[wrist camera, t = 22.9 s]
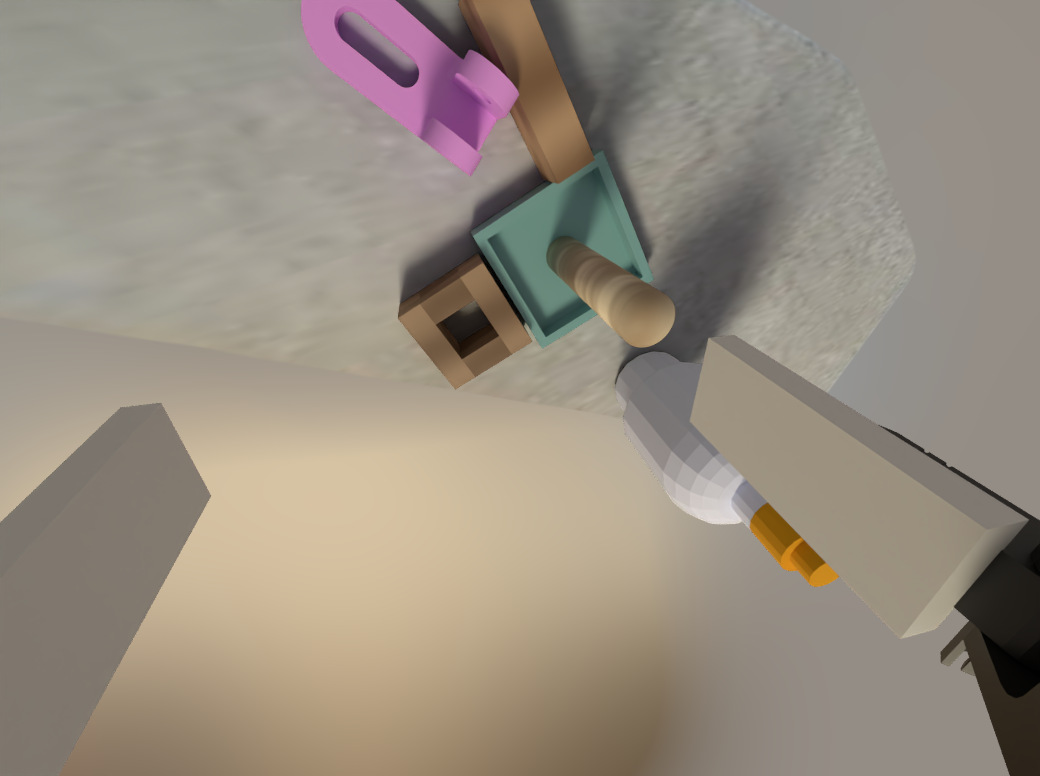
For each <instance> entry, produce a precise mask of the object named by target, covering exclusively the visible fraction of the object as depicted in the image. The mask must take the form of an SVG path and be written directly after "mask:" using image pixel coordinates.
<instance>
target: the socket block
mask: <svg viewBox="0 0 1040 776" xmlns="http://www.w3.org/2000/svg"><path fill="white" fill-rule="evenodd" d="M474 300H476V302H477V303H478V305H479V306H480V308H481V309H482V311H483V312H484V314H485V315H486V317H487V318H488V320H489V321H490V324H488V325H487V326H485V327H484V328H482V329H481V330H479V331H477V332H476V333H474V334H473V335H471V336H470V337H468V338H466V339H465V340H463V341H462V342H460V343H458V342H457V340H456V339H455V337H454V336H453V335H452V333H451V332H450V331H449V329H448V328H447V327H446V325H445V324H444V323H443V321H442V320H444V319H446V318H447V317H449V316H450V315H452V314H453V313H455V312H456V311H458V310H460V309H461V308H463V307H464V306H466V305H467V304H469V303H470V302H472V301H474ZM398 319H399V320H400V322H401V323H402V324H403V325H404V327H405V328H406V329H407V330H408V332H409V333H410V334H411V335H412V337H413V338H414V339H415V340H416V341H417V343H418V344H419V345H420V346H421V348H422V349H423V350H424V351H425V353H426V354H427V355H428V356H429V358H430V359H431V360H432V361H433V362H434V364H435V365H436V366H437V367H438V369H439V370H440V371H441V372H442V374H443V375H444V376H445V377H446V379H447V380H448V381H449V382H450V383H451V385H452V386H453V387H454V388H455V389H457V388H459V387H460V386H462V385H463V384H465V383H467V382H468V381H470V380H471V379H473V378H475V377H476V376H478V375H479V374H481V373H483V372H484V371H486V370H488V369H489V368H491V367H492V366H494V365H496V364H497V363H499V362H500V361H502V360H504V359H505V358H507V357H508V356H510V355H512V354H513V353H515V352H516V351H518V350H520V349H521V348H523V347H524V346H526V345H528V344H529V343H531V342H532V340H531V338H530V337H529V335H528V333H527V331H526V329H525V328H524V326H523V324H522V323H521V321H520V320H519V318H518V316H517V315H516V313H515V312H514V310H513V308H512V307H511V305H510V304H509V302H508V300H507V299H506V297H505V296H504V294H503V292H502V291H501V289H500V288H499V286H498V284H497V283H496V281H495V280H494V278H493V276H492V275H491V273H490V272H489V270H488V268H487V267H486V265H485V264H484V262H483V260H482V259H481V257H480V256H479V254H478V253H477V254H475V255H474V256H472V257H471V258H469V259H468V260H466V261H465V262H463V263H462V264H460V265H459V266H457V267H456V268H454V269H453V270H451V271H450V272H448V273H447V274H445V275H443V276H442V277H440V278H439V279H437V280H436V281H434V282H433V283H431V284H430V285H428V286H427V287H425V288H424V289H422V290H421V291H419V292H418V293H416V294H415V295H413V296H411V297H410V298H408V299H407V300H405V301H404V302H402V303H401V304H400V306H399V313H398Z"/></svg>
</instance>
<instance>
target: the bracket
mask: <svg viewBox="0 0 1040 776" xmlns="http://www.w3.org/2000/svg"><path fill="white" fill-rule="evenodd" d="M345 12H354V13H357V14H358V15H360V16H361V17H362V18H363V19H364V20H366V21H367V22H368V23H369V24H370V25H372V26H373V27H374V28H375V29H376V30H377V31H379V32H380V33H381V34H382V35H383V36H385V37H386V38H387V39H388V40H389V41H390V42H392V43H393V44H394V45H395V46H396V47H398V48H399V49H400V50H401V51H402V52H404V53H405V54H406V55H407V56H408V57H409V58H411V59H412V60H413V61H414V62H415V63H416V65H417V67H418V70H419V78H418V81H417V82H416V84H415V85H414V86H412V87H409V88H405V87H401V86H400V85H398V84H397V83H396V82H394V81H393V80H392V79H391V78H389V77H388V76H387V75H386V74H384V73H383V72H382V71H381V70H379V69H378V68H377V67H376V66H374V65H373V64H372V63H371V62H369V61H368V60H367V59H366V58H364V57H363V56H362V55H361V54H359V53H358V52H357V51H356V50H354V49H353V48H352V47H351V46H349V45H348V44H347V43H346V42H344V41H343V40H342V39H341V37H340V35H339V32H338V21H339V18H340V16H341V15H342V14H343V13H345ZM301 16H302V23H303V28H304V31H305V35H306V37H307V40H308V42H309V44H310V46H311V48H312V49H313V51H314V53H315V54H316V55H317V57H318V58H319V59H320V60H321V62H322V63H323V64H324V65H325V66H326V67H328V68H329V69H330V70H331V71H333V72H334V73H335V74H336V75H338V76H339V77H340V78H342V79H343V80H344V81H346V82H347V83H348V84H349V85H351V86H352V87H353V88H355V89H356V90H357V91H359V92H360V93H361V94H363V95H364V96H365V97H367V98H368V99H369V100H370V101H372V102H373V103H374V104H376V105H377V106H378V107H380V108H381V109H382V110H384V111H385V112H386V113H388V114H389V115H390V116H391V117H393V118H394V119H395V120H397V121H398V122H399V123H401V124H402V125H403V126H405V127H406V128H407V129H409V130H410V131H411V132H412V133H414V134H415V135H416V136H418V137H419V138H420V139H422V140H423V141H424V142H426V143H427V144H428V145H430V146H431V147H432V148H433V149H435V150H436V151H437V152H439V153H440V154H441V155H443V156H444V157H445V158H447V159H448V160H449V161H451V162H452V163H453V164H454V165H456V166H457V167H458V168H460V169H461V170H462V171H464V172H465V173H467V174H468V175H469V176H471V175H472V173H473V172H474V170H475V168H476V167H477V165H478V163H479V162H480V160H481V158H482V156H481V155H480V154H479V153H478V151H479V150H480V148H481V146H482V145H483V143H484V141H485V140H486V138H487V136H488V134H489V133H490V131H491V129H492V128H493V126H494V124H495V123H496V121H497V120H498V119H501V118H504V117H506V116H507V115H508V113H509V111H510V110H511V108H512V106H513V105H514V103H515V101H516V100H517V98H518V96H519V92H518V90H517V89H516V87H515V86H514V85H513V83H512V82H511V81H510V80H509V79H508V78H507V77H506V76H505V75H504V74H503V73H502V72H501V71H500V70H499V69H498V68H497V67H496V66H495V65H493V64H492V63H491V62H490V61H488V60H487V59H486V58H484V57H483V56H482V55H480V54H479V53H477V52H475V51H473V50H469V51H468V53H467V54H466V56H465V58H464V59H462V58H460V57H459V56H458V55H456V54H455V53H454V52H453V51H452V50H451V49H450V48H449V47H447V46H446V45H445V44H444V43H443V42H442V41H441V40H440V39H438V38H437V37H436V36H435V35H434V34H433V33H432V32H431V31H429V30H428V29H427V28H426V27H425V26H424V25H423V24H422V23H421V22H419V21H418V20H417V19H416V18H415V17H414V16H413V15H412V14H410V13H409V12H408V11H407V10H406V9H405V8H404V7H403V6H401V5H400V4H399V3H398V2H397V1H396V0H302V4H301Z"/></svg>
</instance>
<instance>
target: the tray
mask: <svg viewBox="0 0 1040 776" xmlns="http://www.w3.org/2000/svg"><path fill="white" fill-rule="evenodd" d="M592 154H593V156H594V159H595V160H594V161H593V162H591V163H590V164H588V165H587V166H585V167H584V168H582V169H581V170H579V171H577V172H576V173H574V174H573V175H571V176H570V177H568V178H567V179H565V180H564V181H562V182H561V183H559V184H556V183H553V182H550V181H545V182H543V183H542V184H540V185H539V186H537V187H536V188H534V189H533V190H531V191H530V192H528V193H527V194H525V195H524V196H522V197H521V198H519V199H518V200H516V201H515V202H513V203H512V204H510V205H509V206H507V207H506V208H504V209H503V210H501V211H500V212H498V213H497V214H495V215H494V216H492V217H491V218H489V219H488V220H486V221H485V222H483V223H482V224H480V225H479V226H477V227H476V228H474V229H473V230H471V231H470V232H471V234H472V236H473V237H474V239H475V241H476V242H477V244H478V245H479V247H480V249H481V250H482V252H483V254H484V255H485V257H486V258H487V260H488V262H489V263H490V265H491V266H492V268H493V270H494V271H495V273H496V275H497V276H498V278H499V279H500V281H501V283H502V284H503V286H504V287H505V289H506V291H507V292H508V294H509V296H510V297H511V299H512V300H513V302H514V304H515V305H516V307H517V309H518V310H519V312H520V313H521V315H522V317H523V318H524V320H525V321H526V323H527V325H528V326H529V328H530V330H531V331H532V333H533V334H534V336H535V338H536V339H537V341H538V342H539V344H540V346H541V347H542V349H543V348H544V347H546V346H547V345H549V344H551V343H552V342H554V341H555V340H557V339H559V338H560V337H562V336H564V335H565V334H567V333H568V332H570V331H572V330H573V329H575V328H577V327H578V326H580V325H581V324H583V323H585V322H586V321H588V320H589V319H591V318H593V317H594V316H596V315H598V314H597V313H596V312H595V311H594V310H593V309H592V308H591V307H590V306H589V305H588V304H586V303H585V302H584V301H583V300H582V299H581V298H580V297H579V296H578V295H577V294H576V293H575V292H574V291H573V290H572V289H571V288H570V287H569V286H568V285H567V284H566V283H565V282H564V281H563V280H562V279H561V278H559V277H558V276H557V275H556V274H555V273H554V272H553V271H552V270H551V269H550V268H549V266H548V264H547V261H546V253H547V249H548V247H549V245H550V244H551V243H552V242H553V241H554V240H555V239H557V238H559V237H562V236H570V237H572V238H574V239H576V240H578V241H579V242H581V243H582V244H584V245H586V246H587V247H589V248H591V249H592V250H594V251H595V252H597V253H599V254H600V255H602V256H604V257H605V258H607V259H608V260H610V261H612V262H613V263H615V264H617V265H618V266H620V267H621V268H623V269H625V270H626V271H628V272H630V273H631V274H633V275H634V276H636V277H638V278H639V279H641V280H643V281H644V282H646V283H647V284H648V283H649V282H651V281H652V280H654V278H653V275H652V273H651V270H650V268H649V265H648V263H647V260H646V258H645V255H644V253H643V250H642V248H641V245H640V243H639V240H638V238H637V235H636V232H635V230H634V227H633V225H632V222H631V220H630V217H629V215H628V212H627V210H626V207H625V205H624V202H623V200H622V197H621V195H620V192H619V190H618V187H617V184H616V182H615V179H614V177H613V174H612V172H611V169H610V167H609V164H608V162H607V159H606V157H605V154H604V152H603V150H592Z"/></svg>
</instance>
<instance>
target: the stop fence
mask: <svg viewBox="0 0 1040 776" xmlns="http://www.w3.org/2000/svg"><path fill="white" fill-rule="evenodd" d="M458 6H459V8H460V10H461V12H462V14H463V16H464V18H465V20H466V22H467V24H468V26H469V28H470V30H471V32H472V34H473V36H474V38H475V41H476V43H477V45H478V47H479V49H480V51H481V53H482V55H483V57H484V58H486V59H487V60H488V61H490V62H491V63H492V64H493V65H495V66H496V67H497V68H498V69H499V70H500V71H501V72H502V73H503V74H504V75H505V76H506V77H507V78H508V79H509V80H510V81H511V82H512V83H513V85H514V86H515V87H516V89H517V90H518V92H519V96H518V98H517V100H516V101H515V103H514V105H513V106H512V108H511V110H510V113H511V115H512V117H513V119H514V121H515V123H516V125H517V127H518V129H519V131H520V133H521V135H522V137H523V139H524V141H525V143H526V146H527V148H528V150H529V152H530V154H531V156H532V158H533V160H534V162H535V164H536V166H537V168H538V170H539V172H540V174H541V176H542V178H543V180H546V181H550V182H553V183H556V184H559V183H561V182H562V181H564V180H565V179H567V178H568V177H570V176H571V175H573V174H574V173H576V172H577V171H579V170H581V169H582V168H584V167H585V166H587V165H588V164H590V163H591V162H593V161H594V160H595V159H594V156H593V154H592V151H591V149H590V146H589V144H588V141H587V139H586V137H585V134H584V132H583V129H582V127H581V124H580V122H579V120H578V117H577V115H576V112H575V110H574V107H573V105H572V102H571V100H570V98H569V95H568V93H567V90H566V88H565V85H564V83H563V81H562V78H561V76H560V73H559V71H558V68H557V66H556V63H555V61H554V59H553V56H552V54H551V51H550V49H549V46H548V44H547V42H546V39H545V37H544V34H543V32H542V29H541V27H540V24H539V22H538V20H537V17H536V15H535V12H534V10H533V7H532V5H531V3H530V0H459V4H458Z"/></svg>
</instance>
